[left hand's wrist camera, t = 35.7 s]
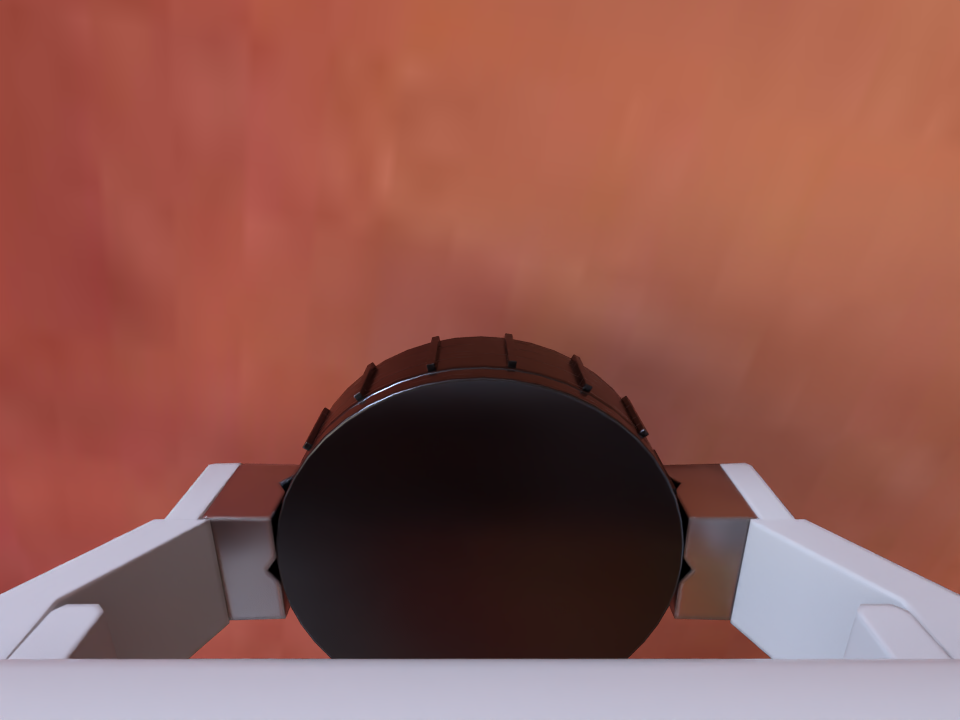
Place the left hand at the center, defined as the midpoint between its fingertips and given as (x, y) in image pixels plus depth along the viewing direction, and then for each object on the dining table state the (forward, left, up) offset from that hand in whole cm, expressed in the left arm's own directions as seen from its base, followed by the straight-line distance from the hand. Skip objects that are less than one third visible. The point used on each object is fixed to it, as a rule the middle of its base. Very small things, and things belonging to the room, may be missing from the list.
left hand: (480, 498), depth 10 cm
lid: (0, 0, +2) cm, 2 cm away
